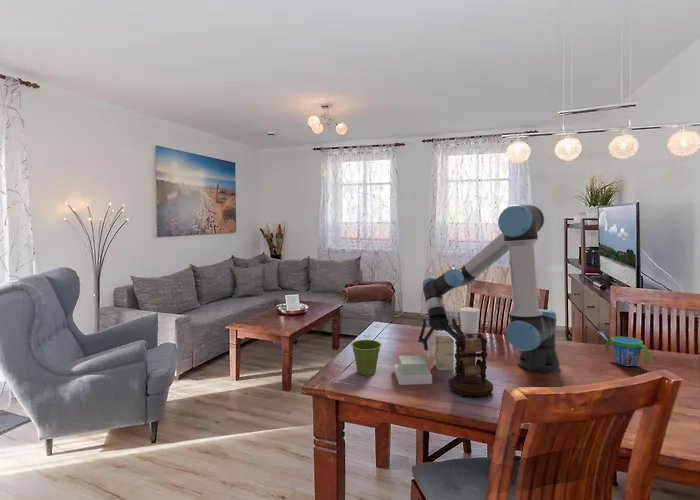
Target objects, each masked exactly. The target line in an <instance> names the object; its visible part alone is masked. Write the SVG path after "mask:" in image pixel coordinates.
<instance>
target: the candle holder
mask: <svg viewBox="0 0 700 500" xmlns="http://www.w3.org/2000/svg"><path fill="white" fill-rule="evenodd" d="M480 311H481V310H480V309H479V308H476V307H470V306H469V307H467V306H466V307H461V308H460V327H461V328H460V329H461V331H462V332H463V333H464V334H466V335H476V334H479V324H480V323H479V322H480Z"/></svg>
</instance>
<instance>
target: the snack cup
mask: <svg viewBox="0 0 700 500" xmlns="http://www.w3.org/2000/svg"><path fill="white" fill-rule="evenodd" d="M610 342H611V344H612V348H613V350H612V351H613V357H614V361H616V362H617V363H620V364H623V365H630V366H636V365H637V366H638V364H639V360H640V358H641V357H640V356H641V352H642V349H643V350H644V353H645V354H644V355H645V356H644V362H645V363H647V362H649V361H650V351H649V349H648V347H647V346H646V345H645V344H644V341H643V340H640V339H638V338H635V337H630V336H629V337H628V336H613V337H610V338H608V339H607V341H606V342H605V346H604V348H605V352H610V351H611V348H610ZM616 362H615V363H616ZM637 366H636V367H637Z"/></svg>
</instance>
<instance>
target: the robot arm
mask: <svg viewBox="0 0 700 500" xmlns="http://www.w3.org/2000/svg"><path fill="white" fill-rule="evenodd" d="M544 223H545V215H544V213H543V211H542V210H541V209H540V208H539V207H537V206H535V205H533V204H532V205H531V204H530V205H529V204H523V203H522V204H519V203H518V204H513V205H509V206H507V207H506V208H504V209H503V210H502V211H501V213H500V214H499V216H498V221H497V226H498V228H499V231H500V232H501V233H500V234H499V235H498V236H495V238H494V239H493V240H491V242H489V243H488V244H487V245H486V246H485V247H483V248H482V249H481V250H480V251H479V252H478V253H476V254H475V255H474V256H473V257H472V258H471V259H470V260H469V261H468V262H466V263H465V264H464V265H463V266H462V267H460V268H457V267H451V268H449V269H447V270H446V271H445V272H443V273H442V274H440V275H439V276H438V277H437V278H436V277H429V278H425V279H424V280H423V281H422V292H423V295H424V299H425V300H424V301H425V305H426V310H427V316H428V320H427V319H422V321H421V325H422V327H421V331H420V333H419V338H418V341H417V342H418V343H422V345H423V350H424V351H426V353H427V354H426V355H427V359H428V360H431V358H432V351H431V346H430V341H429V338H430V337H431V335H432V334H433V332H434V331H436V332H438V331H440V332H441V331H445V332H446V333H447V334H449V336H450V337H451V338H452V339H453V340H454V341H456V340H459V336H460V334H463V336H464V337H465V339H467V336H466V335H465V333H463V332H462V331H461V328H460V327H459V325H458V324H457V322H456V319H455V318H452V319H448V317H447V313H446V312H447V311H446V309H445V308H446V307H445V304H444V298H443V296H444V295H445V294H446V293H448V292H450V291H452V290H453V289H456V288H460V287H465V286H469V285H471V284H473V283H474V282H475V281H476V278H478V277H479V276H480V275H481V274H482V273H484V272H485V271H486V270H487V269H488V268H490V267H491V266H492V265H493V264H494V263H496V262H498V260H500V259H502V257H503V256H505V255H506V254H507V253H509V267H510V269H509V271H510V282H511V283H510V284H511V297H512V309H511V311H509V315H508V316H509V323H508V325H507V327H506V329H505V337H506V339H507V341H508V343H509V344H510V345H511V346H513V348H515V349H517V350H518V351H519V355H518V361H517V363H518V365H519V366H520V367H521V368H524V369H527V370H530V371H533V372H538V371H539V372H538V373H554V372H553V371H555V372H558V371H559V370H560V369H559V368H561V367H560V365H561V363H560V359H559V357H558V354H557V353H558V352H557V349H556V341H557V340H556V337H557V336H556V334H557V333H556V332H557V321H558V319H557V314H556V312H555V311H554V310H549V309H543V308H539V304H538V291H537V288H538V286H537V275H536V262H535V261H536V260H535V248H534V247H535V244H536V242H537V241H538V239H539V238H538V237H539V235H538V232H540V230H541V229H542V228H543V226H544ZM428 325H429V326H430V329H429V330H428V332H427V333H426V335H425V336H424V333H425V330H426V327H428ZM451 327H452V328H451ZM423 336H424V338H423ZM459 348H460V347H459ZM558 369H559V370H558ZM557 370H558V371H557Z"/></svg>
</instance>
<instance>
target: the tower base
mask: <svg viewBox="0 0 700 500" xmlns="http://www.w3.org/2000/svg"><path fill="white" fill-rule="evenodd" d="M393 367H394V368H393V373H394V375H395V377H396V380H397V383H398V385H399V386H402V385H403V386H404V385H405V386H407V385H432V384H433V374H432V373H431V371H430V370H429V369H428V362H427V361H426V359H425V358H424V356H423V355H421V354H414V355H398V363H397V364H394V365H393Z"/></svg>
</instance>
